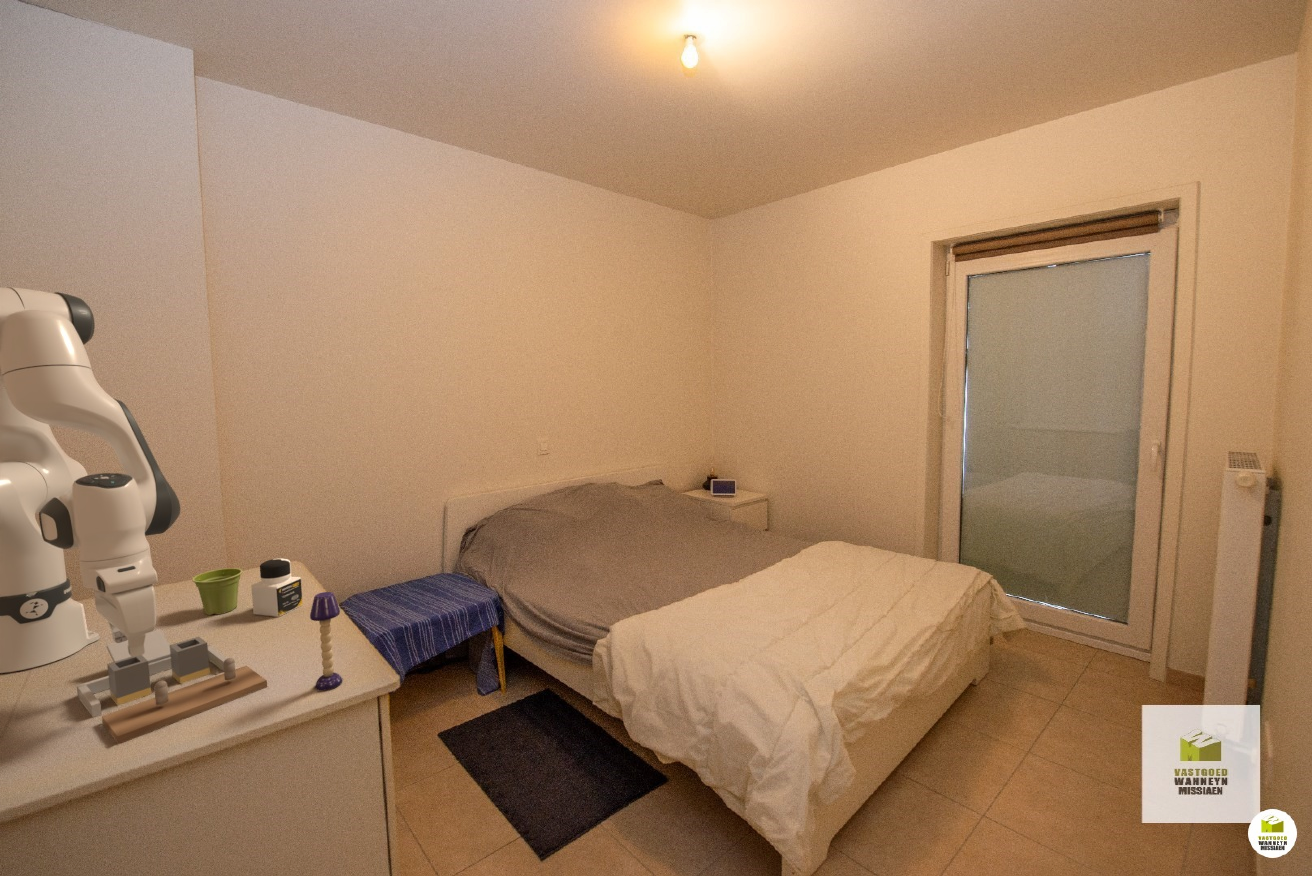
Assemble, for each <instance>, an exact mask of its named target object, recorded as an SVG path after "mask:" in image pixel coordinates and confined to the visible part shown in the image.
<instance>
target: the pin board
mask: <svg viewBox="0 0 1312 876" xmlns="http://www.w3.org/2000/svg"><path fill="white" fill-rule="evenodd" d="M223 665H224V671H223V673H222V674H221V673H220V674H219V675H215V676H213V677H209V678H207V679H204V680H201V681H198V682H196V683H193V684H192V683H191V684H190V685H187V686H185V687H181V688H178V689H176V690H173V691H170V692H169V691H168V690H169V689H168V682H167V681H165V680H159V681H157V682H156V683H155V684H154V685H153V687H154V688H153V690H154V698H150V699H148V700H144V701H141V702H138V703H136V704H134V705H133V704H132V705H129V706H127V707H124V708H122V709H118V710H115V711H113V712H110V713H107V714H103V715H102V716H101V720H102V725H104V727H105V728H106V730H107V731H108V732H109V733H110V735H111V736H112V737H113V739H114V741H116V742H117V744H118V745H119V744H120V745H121V744H123V743H125V742H127V741H130V740H133V739H135V738H139V736H143V735H145V734H146V735H147V734H148V733H151V732H153V731H156V730H158V729H161V728H164V727H166V726H169V725H171V724H174V723H177V722H179V721H182V720H184V719H187V718H191V717H192V716H195V715H197V714H200V713H203V712H205V711H209V710H210V709H213V708H216V707H218V706H221V705H223V704H227V703H228V702H230V701H231V702H232V701H233V700H236V699H239V698H241V697H244V696H247V695H249V694H251V693H254V692H257V691H259V690H262V689H265V688H267V687H268V680H267V679H266V678H264V677H263V676H261V675H260V674H258V672H256V671H255V670H254V669H252V668H251V667H249V666H247V665H245V666H241V667H239V668H236V662H235V659H234V658H232V657H227V659H226V660H225V661H224V663H223Z"/></svg>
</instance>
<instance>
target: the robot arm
mask: <svg viewBox="0 0 1312 876" xmlns="http://www.w3.org/2000/svg"><path fill="white" fill-rule="evenodd" d="M95 327H96V326H95V318H94V314H93V311H92V309H91V307H90V306H89V305H88V304H87V303H86V301H84V299H82V298H80V297H78V296H76V295H75V296H74V295H71V294H67V293H63V292H59V291H56V292H49V291H44V290H43V291H42V290H37V289H31V288H30V289H29V288H24V287H23V288H22V287H15V286H14V287H13V286H6V287H0V674H3V673H11V672H12V673H13V672H17V671H23V670H28V669H32V668H36V667H40V666H43V665H47V664H50V663H53V662H56V661H58V660H59V661H60V660H62V659H65V658H67V657H69V656H72V655H74V654H75V653H78V652H79V651H80V650H82V649H83V648H84V647H86V646H88V645H89V644H92V643H94V642H96V641H99V640H100V639H101V636H100V634H99V633H98V632H95V631H92V630H89V629H88V626H87V625H88V624H87V621H86V614H85V613H86V612H85V608H84V604H83V603H82V602H81V603H80V602H79V601H76V600H74V598H72V596H73V595H72V589H73V587H72V584H71V580H70V578H68V577H67V573H66V572H67V571H66V563H65V553H64V550H73V549H75V550H76V549H79V555H78V563H79V570H80V576H81V582H82V587H83V588H84V589H87V590H88V589H89V590H91V589H93V594H94V595H93V596H94V603H95V604H94V605H95V609H96V611H97V613H98V614H99V615H100V616H101V617H102V618H104V619H105V620H106V621H107V623H108V625H109V626H108V627H109V629H110V630H111V633H112V634H111V635H112V640H113V642H116V643H121V642H124V641H127V640H128V652H129V654H130V655H131V656H132V657H136V656H140V655H142V654H144V653H145V648H144V641H145V636H146V634H145V633H149V632H152V631H155V628H156V625H157V602H156V601H157V600H156V590H155V587H154V585H155V584H157V583H158V582H159V581H158V579H159V578H158V572H157V571H156V569H155V567H154V564H153V559H152V555H151V554H152V553H151V548H150V543H149V541H148V540H147V536H153V535H154V536H155V535H161V534H164V533H165V532H166V531H168V530H169V529H170V528H171V527H172V526H173V525H174V523H175V522H177V520H178V519H179V516H180V515H181V503H180V500H179V498H178V496H177V494H176V492H175V490H174V489H173V486H171V484H170V483H169V481H168V480H167V479H166V478H165V476H164V474H163V473H162V470H161V468H160V466H159V464H158V462H157V460H156V458H155V456H154V454H153V452H152V450H151V448H150V446H149V444H148V442H147V440H146V438H145V436H144V434H143V432H142V430H141V427H140V426H139V424H138V423H137V420H136V418H135V417H134V415H133V414H132V412H131V411H130V409H129V407H128V406H127V405H126V404H125V402H123V401H121V400H120V399H116V398H114V397H112V396H111V395H110V394H109V393H107V392H106V391H105V390H104V388H102V386H101V385H100V384H99V383H98V381H97V379H96V377H95V375H94V372H93V368H92V365H91V361H90V358H89V355H88V353H87V350H86V348H85V345H86V344H87V343H88V342H89V341H91V340H92V338H93V336H94V334H95V333H94V332H95ZM50 426H53V427H59V428H64V429H71V430H73V431H74V430H76V431H78V432H79V431H80V432H82V433H83V432H84V433H88V434H91V435H94V436H96V437H99V438H101V439H103V440H104V441H105V442H107V443H108V445H109V446H111V448H112V450H113V451H114V454H115V455H116V458H117V460H118V462H119V464H120V467H121V468H122V469H123V472H124V473H120V472H119V473H118V472H115V473H114V472H111V473H110V472H104V473H103V472H102V473H93V474H88V473H87V470H86V468H85V467H84V466H83V464H81V463H80V462H79V461H77V460H75V459H74V458H72V457H70V455H68V454H67V453H66V452H65V451H64V449H63V448H62V446H60V444H59V443H58V441H57V439H56V437H55V436H54V435H55V434H53V431H52V429H51V427H50ZM37 513H38V519H39V520H38V521H39V523H38V522H37V518H36V514H37Z"/></svg>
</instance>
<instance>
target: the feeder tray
mask: <svg viewBox="0 0 1312 876" xmlns="http://www.w3.org/2000/svg"><path fill="white" fill-rule="evenodd" d="M145 634H146V636H145V641H144V648H145V653H144V654H142V656H143V657H144V658H145V659H146V660H148V665H149V675H150V676H153V675H155V674H158V673H161V672H166V671H167V670H170V669H171V670H172V666H171V655H170V645H171V643H170V641H169V640H168V638H167V637H166V634H164V631H163V630H162V629H161V628H160V629H156V630H155V629H154V630H153V631H152V632H149V633H145ZM207 646H208V658H209V662H211V663H212V664H214V665H215V666H216V667H217V668H219V669H220V670H221V671H222V672H224V665H223V663H224V661H225V660H226V659H227V658H228V657H227V656H226V655H224V654H223V653H221V652H220V651H219V650H217V648H214V647H213V646H212V645H210V644H207ZM106 650H107V651H108V654H109V656H110V657H111V659H112V662H115V661H119V660H122V659H125V658H129V657H132V656H131V655H130V654H129V652H128V640H127V641H124V642H121V643H116V642H115V641H112V642H108V643H106ZM106 690H110V685H109V675H107V676H102V677H100V678H96V679H93V680H89V681H87V682H84V683H81V684H77V685H76V693H77V697H78V699H79V700H80V702H81V703H82V705H83V706H84V707H85V708H86V710H87V711H88V712H89V714H90V715H91V717H92V718H96V717H98V716H101V715H102V708H101V707H102V706H101V701H100V700H98V698H97V696H95V694H96V693H99V692H103V691H106Z"/></svg>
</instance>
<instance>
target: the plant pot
mask: <svg viewBox="0 0 1312 876" xmlns="http://www.w3.org/2000/svg"><path fill="white" fill-rule="evenodd" d="M242 573H243V570H242V568H237V567H228V568H220V569H213V570H209V571H205V572H203V573H199V574H197V575H195V576H193V577H192V582H193V583H195V586H196V588H197V589H198V592H199V597H200V600H201V602H202V603H201V604H202V607H203V610H204V613H205V614H206V615H214V614H216V615H217V614H218V615H222V614H225V613H228V612H231V611H233V610H235V609H236V608H237V607H238V597H239V585H240V584H239V582H240V579H241V574H242ZM242 575H243V574H242Z"/></svg>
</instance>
